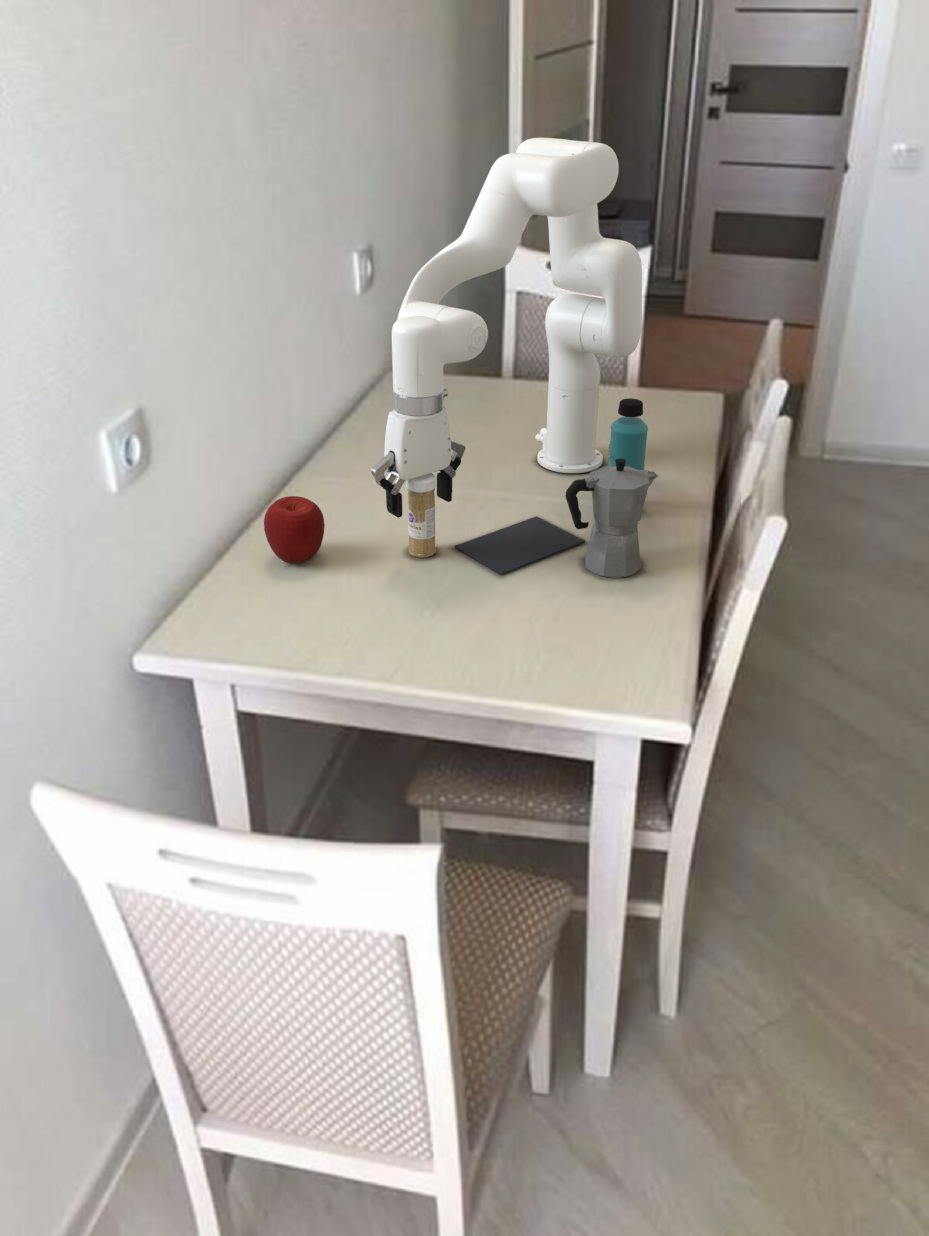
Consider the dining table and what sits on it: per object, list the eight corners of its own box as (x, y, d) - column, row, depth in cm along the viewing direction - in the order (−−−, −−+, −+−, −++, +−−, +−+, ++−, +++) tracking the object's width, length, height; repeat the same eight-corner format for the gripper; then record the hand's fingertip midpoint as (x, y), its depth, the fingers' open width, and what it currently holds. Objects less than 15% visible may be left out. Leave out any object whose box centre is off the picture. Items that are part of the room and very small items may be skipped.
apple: (278, 577, 165) (272, 518, 160) (259, 552, 172) (253, 495, 167) (335, 563, 169) (331, 506, 164) (314, 539, 176) (309, 484, 171)
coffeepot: (635, 545, 174) (644, 442, 165) (663, 571, 166) (675, 464, 157) (549, 560, 170) (554, 455, 160) (574, 587, 162) (581, 478, 153)
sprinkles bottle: (402, 553, 172) (400, 476, 165) (421, 543, 175) (419, 467, 168) (423, 561, 169) (421, 483, 162) (442, 551, 172) (441, 474, 165)
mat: (454, 547, 173) (454, 545, 173) (536, 518, 183) (536, 516, 183) (501, 575, 165) (501, 573, 165) (584, 542, 175) (585, 540, 175)
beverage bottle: (644, 505, 188) (654, 396, 177) (637, 520, 182) (647, 409, 172) (608, 500, 189) (616, 392, 179) (600, 515, 184) (608, 404, 174)
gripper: (448, 385, 166) (448, 486, 175) (356, 406, 157) (361, 512, 166) (478, 397, 161) (477, 500, 170) (385, 420, 152) (388, 529, 160)
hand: (420, 506), depth 168 cm, fingers open, 9 cm apart
